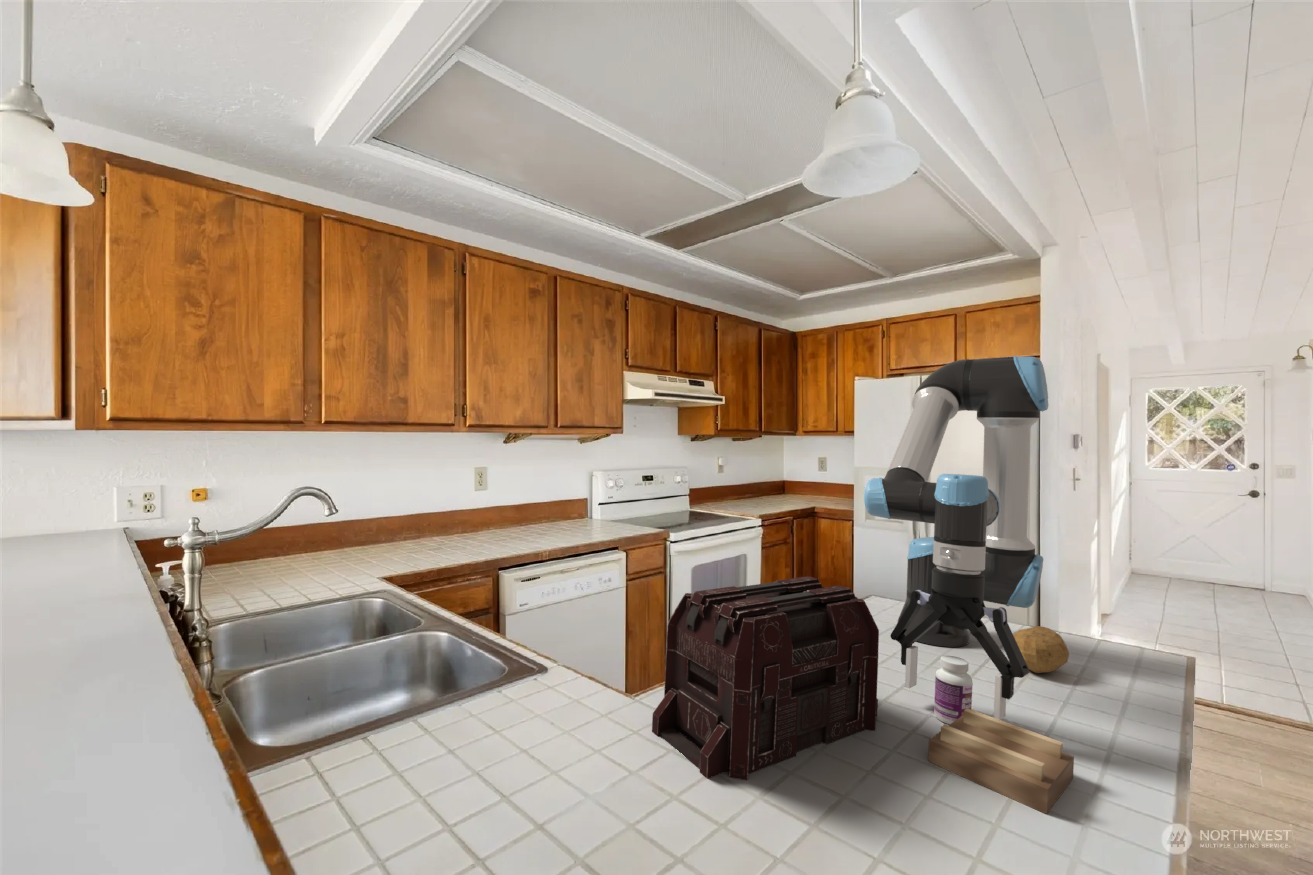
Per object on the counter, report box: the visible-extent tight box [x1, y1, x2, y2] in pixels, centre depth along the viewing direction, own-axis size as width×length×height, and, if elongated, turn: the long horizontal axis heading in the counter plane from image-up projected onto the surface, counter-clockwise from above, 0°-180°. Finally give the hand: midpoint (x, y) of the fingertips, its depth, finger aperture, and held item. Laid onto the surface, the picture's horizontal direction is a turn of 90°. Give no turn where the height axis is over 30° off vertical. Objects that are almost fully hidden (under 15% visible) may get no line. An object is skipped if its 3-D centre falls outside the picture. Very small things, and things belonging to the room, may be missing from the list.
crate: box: [651, 576, 880, 781], centre depth 87 cm, size 35×19×21 cm, turn 123°
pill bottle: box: [933, 655, 974, 726], centre depth 91 cm, size 5×5×10 cm
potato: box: [1012, 625, 1070, 674], centre depth 114 cm, size 10×14×8 cm
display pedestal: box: [927, 708, 1075, 815], centre depth 77 cm, size 14×12×5 cm
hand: (952, 700), depth 91 cm, fingers open, 13 cm apart
